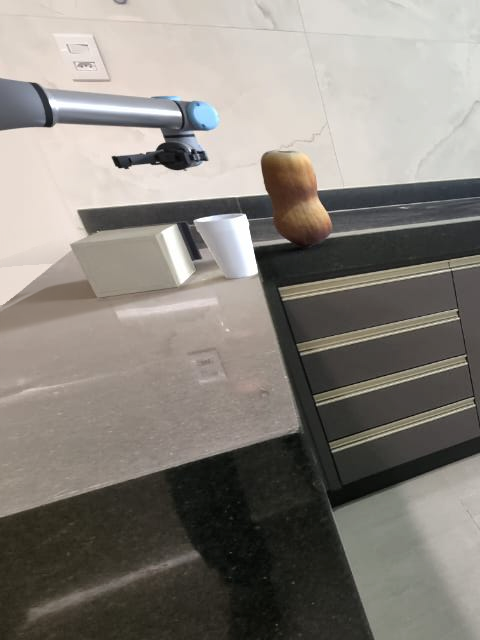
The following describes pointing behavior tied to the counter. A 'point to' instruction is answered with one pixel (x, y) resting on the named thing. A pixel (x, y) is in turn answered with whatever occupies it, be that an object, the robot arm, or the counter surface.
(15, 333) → the counter surface
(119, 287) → the beige rounded box
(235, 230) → the foam cup
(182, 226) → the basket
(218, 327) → the counter surface
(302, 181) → the butternut squash
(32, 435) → the counter surface
